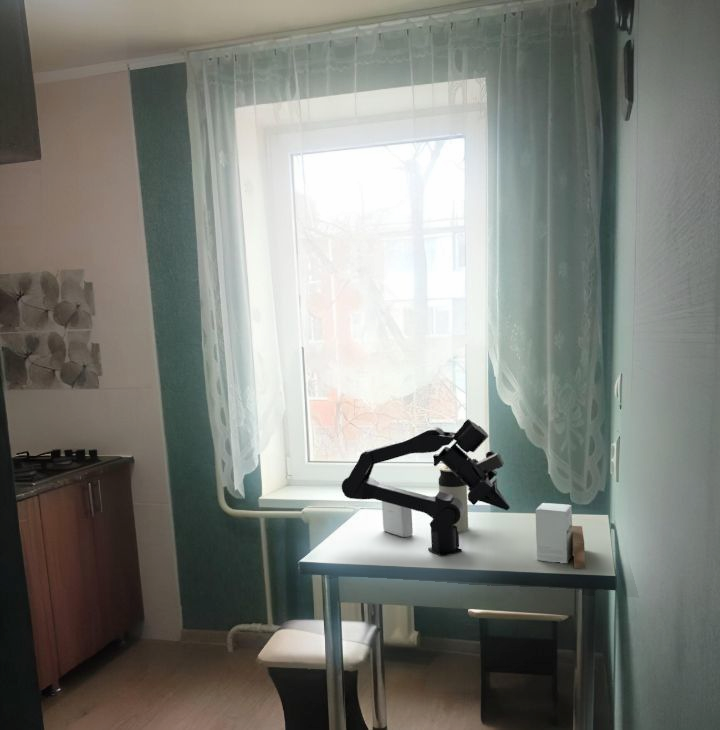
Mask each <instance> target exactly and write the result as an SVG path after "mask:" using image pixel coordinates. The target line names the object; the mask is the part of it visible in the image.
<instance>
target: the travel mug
mask: <svg viewBox="0 0 720 730" xmlns="http://www.w3.org/2000/svg"><path fill="white" fill-rule="evenodd" d="M438 470H439V473H440V475H439V477H438V492H439V491H440V492H443V493H445V494H448V495H454V497H455V498H458V499H459V500H460V501H461V502H462V504H463V507H464V511H463V514H462V516H461V518H460V519H459V521H458V522H457V523H456V524H454V526H457V531H458V532H460V533H464V532H466V531H468V529H469V513H468V508H469V506H468V489H467V488H468V486H467V485H466V484H465V483H464V482H463V481H462V480H461V479H460V480H458V479H457V478H456V477H457V476H456V475H455V474H454V473H453V472H452V471H451V470H450V469H449V468H448V467H447V466H446V465H444V466H443V465H442V466H440V467H439V468H438Z"/></svg>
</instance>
